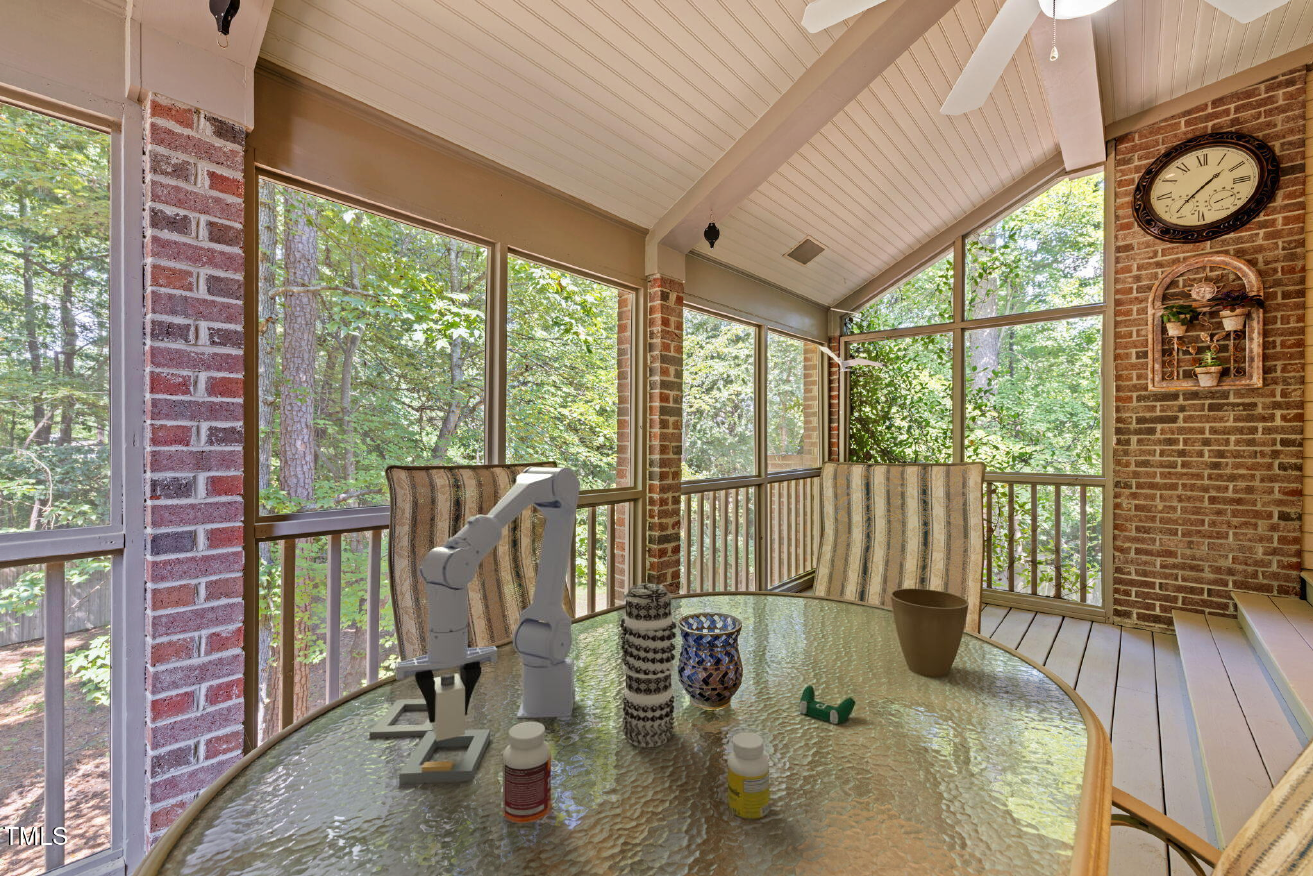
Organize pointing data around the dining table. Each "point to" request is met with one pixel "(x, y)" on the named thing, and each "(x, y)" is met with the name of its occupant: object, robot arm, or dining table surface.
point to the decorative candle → (648, 665)
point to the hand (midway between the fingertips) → (447, 716)
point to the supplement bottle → (748, 777)
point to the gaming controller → (824, 708)
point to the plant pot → (929, 628)
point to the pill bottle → (526, 774)
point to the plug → (449, 707)
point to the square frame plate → (387, 730)
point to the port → (445, 770)
